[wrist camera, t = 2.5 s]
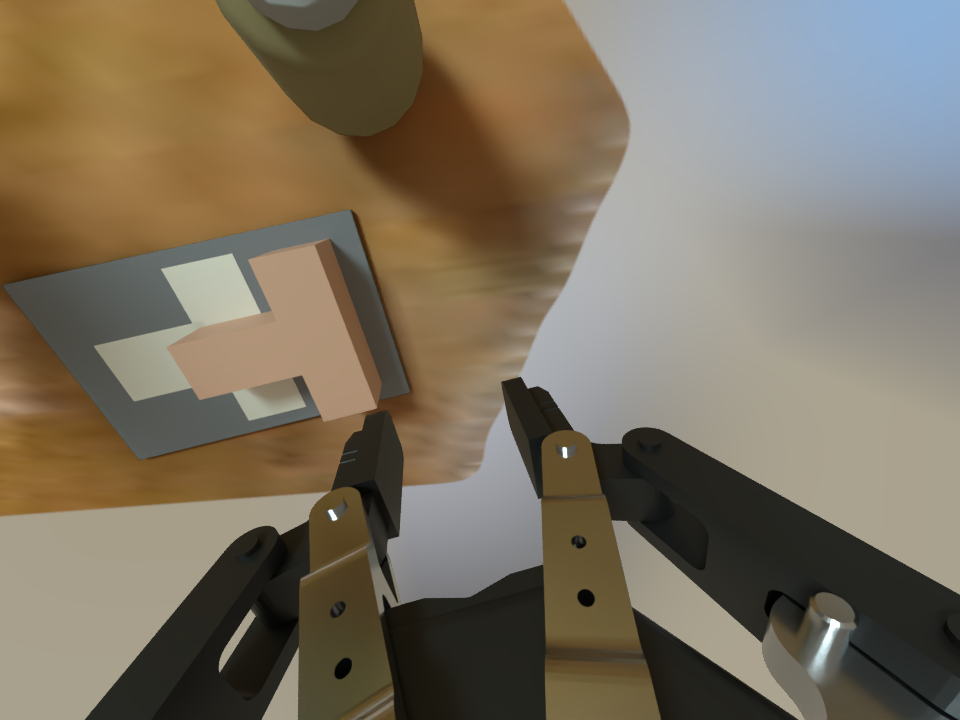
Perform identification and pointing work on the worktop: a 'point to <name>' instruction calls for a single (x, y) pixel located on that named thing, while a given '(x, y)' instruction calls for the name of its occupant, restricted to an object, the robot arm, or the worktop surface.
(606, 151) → the worktop surface
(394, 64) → the squeeze bottle
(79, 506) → the worktop surface
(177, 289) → the mat
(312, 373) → the T-block
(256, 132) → the worktop surface
